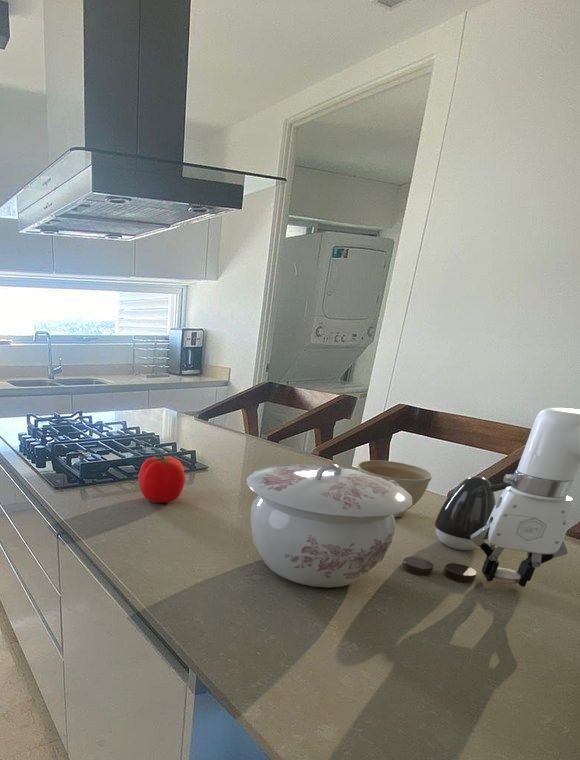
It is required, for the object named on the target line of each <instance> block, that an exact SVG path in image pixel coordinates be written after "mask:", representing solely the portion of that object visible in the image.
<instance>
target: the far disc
mask: <svg viewBox="0 0 580 760" xmlns="http://www.w3.org/2000/svg"><path fill="white" fill-rule="evenodd" d="M401 568H402V569H403V570H404V571H406V572H407V573H409V574H413V575H415V576H416V575H417V576H422V577H424V576H425V577H427V576H430V575H431V574H432V572H433V569H434V564H433V563H432V562H431V561H430V560H427V559H424V558H423V557H422V558H421V557H417V556H407V557H405V558H403V561H402V565H401Z"/></svg>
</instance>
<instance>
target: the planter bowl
mask: <svg viewBox="0 0 580 760" xmlns="http://www.w3.org/2000/svg"><path fill="white" fill-rule="evenodd" d="M357 471H361V472H365V473H368V474H371V475H374V476H377V477H380V478H383V479H386V480H388V481H389V480H394V481H396V482H397V483H398V484H400V486H401V487H402V488H403V489H405V490H406V491H407V492H408V493H409V494H410V495H411V496H412V506H410V507H409V508H407V509H406V510H404V511H403V512H401V513H399V514H398V515H397V516H396V517H395V518H400V517H403V516H404V515H405V514H406V513H407V511H408V510H409V509H411V508H412V507H413V506H414V505H416V504H418V502H419V501H420V500H421V499H422V497H423V496H424V495H425V493H426V491H427V490H428V489H427V488H428V486H429V483H430V482H431V481H432V478H433V474H432V473H431V472H430V471H429V470H427V469H425V468H423V467H419V466H417V465H412V464H408V463H404V462H399V461H392V460H391V461H390V460H364V461H361V462H359V463H358V464H357Z"/></svg>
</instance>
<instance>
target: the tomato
mask: <svg viewBox="0 0 580 760" xmlns="http://www.w3.org/2000/svg"><path fill="white" fill-rule="evenodd" d="M151 456H152V457H148V458H147V459H145V460H144V461H143V463H142V464H141V465H140V468H139V472H138V477H137V479H138V481H137V482H138V486H139V487H138V488H139V489H140V492H141V494H142V496H143V497H144V498H145V499H146V500H148V501H149V502H152V503H156V504H168V503H169V504H170V503H171V502H173V501H175V500H177V499H178V498H179V497H180V495H181V494H182V492H183V489H184V487H185V484H186V478H187V477H186V475H185V469H184V465H183V464H182V462H181V460H179V459H177V458H175V457H173V456H170V455H166V456H164V455H161V457H160V456H155V455H153V454H151Z"/></svg>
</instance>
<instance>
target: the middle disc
mask: <svg viewBox="0 0 580 760" xmlns="http://www.w3.org/2000/svg"><path fill="white" fill-rule="evenodd" d="M442 573H443V575H444V576H445V577H446V578H448V579H449V580H452V581H455V582H458V583H464V584H469V583H473V582H474V581H475V579H476V577H477V570H475V569H474V568H472V567H470V566H468V565H465V564H462V563H455V562H451V563H450V562H449V563H446V564H445V565H444V568H443V571H442Z"/></svg>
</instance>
